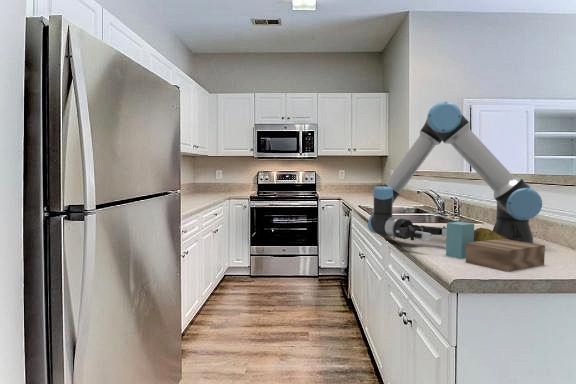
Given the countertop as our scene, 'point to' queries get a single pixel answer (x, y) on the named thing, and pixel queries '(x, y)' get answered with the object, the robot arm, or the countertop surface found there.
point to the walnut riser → (505, 254)
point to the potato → (485, 235)
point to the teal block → (458, 238)
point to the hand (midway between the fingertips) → (444, 236)
